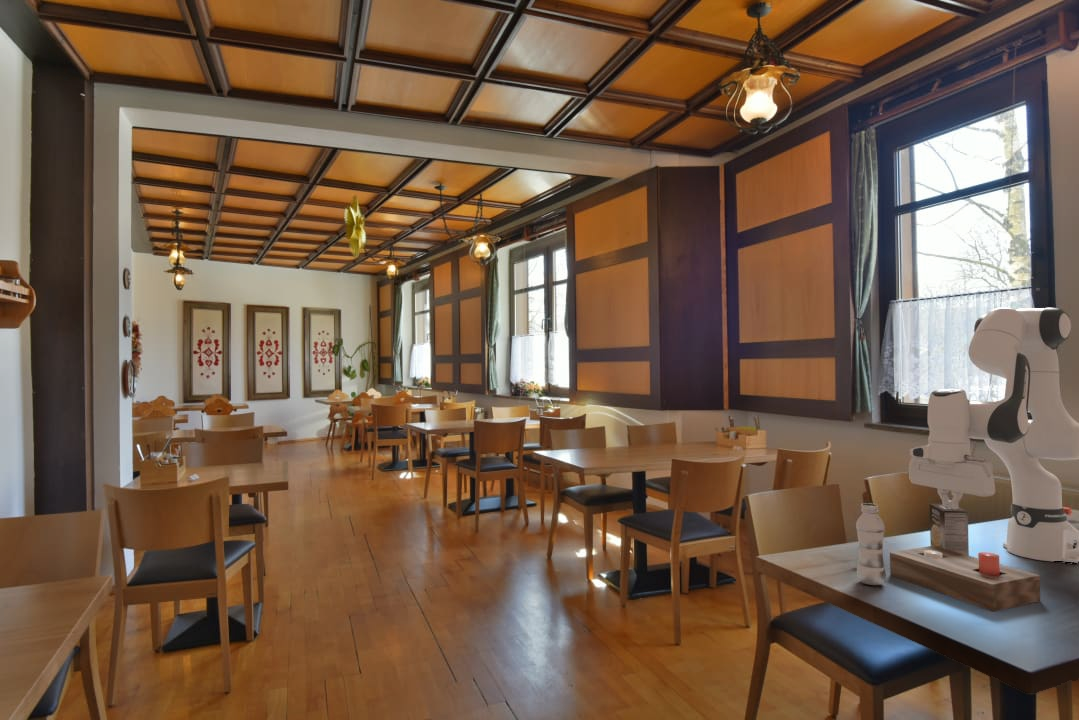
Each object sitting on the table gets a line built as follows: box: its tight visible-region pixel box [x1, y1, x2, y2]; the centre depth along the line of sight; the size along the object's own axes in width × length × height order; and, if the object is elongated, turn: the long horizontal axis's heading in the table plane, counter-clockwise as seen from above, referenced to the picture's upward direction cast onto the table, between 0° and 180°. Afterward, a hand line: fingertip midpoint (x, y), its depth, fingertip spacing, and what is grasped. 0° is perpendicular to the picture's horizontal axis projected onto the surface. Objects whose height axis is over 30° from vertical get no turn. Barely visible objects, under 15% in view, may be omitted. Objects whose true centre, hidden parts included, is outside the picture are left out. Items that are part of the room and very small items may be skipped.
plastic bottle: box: [855, 502, 887, 586], centre depth 153 cm, size 6×7×20 cm
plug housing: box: [889, 545, 1041, 612], centre depth 150 cm, size 16×26×6 cm, turn 20°
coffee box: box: [929, 503, 970, 556], centre depth 167 cm, size 9×6×16 cm
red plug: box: [977, 551, 1001, 576], centre depth 143 cm, size 4×4×6 cm
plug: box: [924, 550, 942, 559], centre depth 156 cm, size 4×4×6 cm
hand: (950, 508), depth 152 cm, fingers closed
